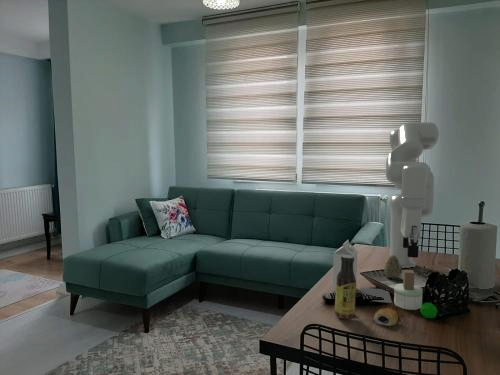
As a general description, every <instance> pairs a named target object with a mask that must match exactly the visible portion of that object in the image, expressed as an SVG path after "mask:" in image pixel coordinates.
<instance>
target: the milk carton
mask: <svg viewBox="0 0 500 375" xmlns="http://www.w3.org/2000/svg"><path fill="white" fill-rule="evenodd" d="M342 255H352V256H354V262H353V272H354V276H355V280H356V282H357V279H358V278H357V274H358V273H357V272H358V250H357V249H356V248H355V246H353V245H352V244H351V243H350V242H349V239H347V240H346V241H345V242H344V243H343V244H342V246H341V247H339V248H338V249H337V250H336V251H335V252H333V260H332V261H333V262H332V267H333V268H332V292H334V293H336V283H337V275H338V273H339V272H340V270H341V262H342V261H341V256H342Z"/></svg>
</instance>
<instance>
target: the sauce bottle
mask: <svg viewBox="0 0 500 375" xmlns="http://www.w3.org/2000/svg"><path fill="white" fill-rule="evenodd" d="M341 261H342V262H341V270H340V272H339V273H338V275H337V283H336V292H335V298H334V299H335V300H334V314H335V316H336V318H339V319H342V320H350V319H352V318H353V317H354V316H355V308H356V297H357V296H356V293H357V291H356V290H357V281H356V280H355V276H354V272H353V262H354V256H352V255H342V256H341Z"/></svg>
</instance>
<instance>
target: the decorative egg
mask: <svg viewBox="0 0 500 375" xmlns="http://www.w3.org/2000/svg"><path fill="white" fill-rule="evenodd" d="M387 259H388V260H387V262H386V261H385V265H384V274H385V276H386V278H387V277H389V278H392V279H391V280H393V279H394V280H397V279H398V278H399V277H400V275H401V268H400V264H399V261H398V259H397V257H396V256H394V255H392V256H390V255H389V257H388V258H387ZM389 278H388V279H389ZM396 278H397V279H396Z"/></svg>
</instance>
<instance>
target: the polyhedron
mask: <svg viewBox="0 0 500 375" xmlns="http://www.w3.org/2000/svg"><path fill="white" fill-rule="evenodd" d="M419 312H420V314H421V316H423V317H424V318H425V319H434V318H436V316H437V314H438V309H437V307H436V306H435V304H433V303H431V302H424V303H422V306H421V308H419Z"/></svg>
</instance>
